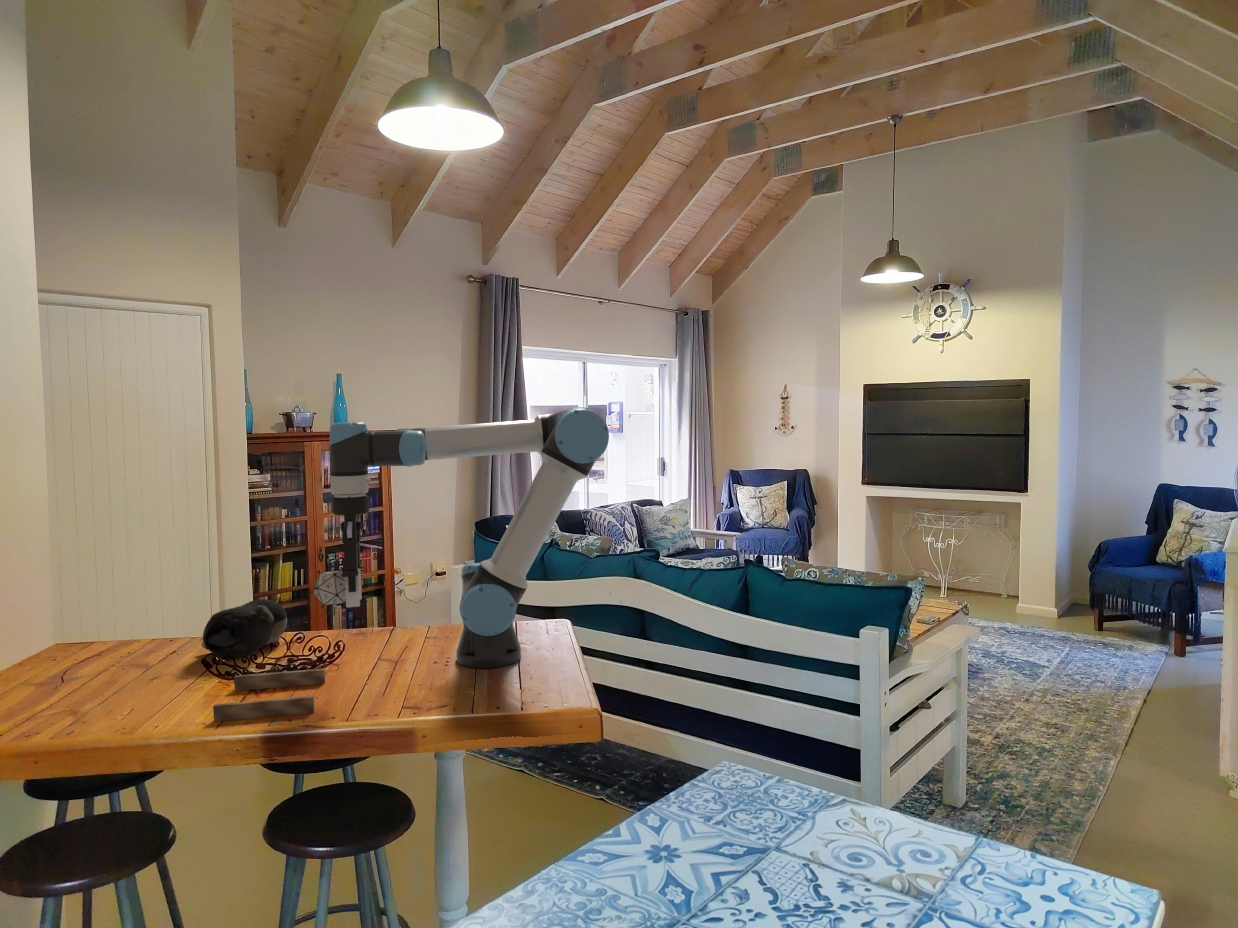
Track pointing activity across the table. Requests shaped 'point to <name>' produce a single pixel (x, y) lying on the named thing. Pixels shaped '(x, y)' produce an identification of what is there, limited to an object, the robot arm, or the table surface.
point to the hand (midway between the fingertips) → (354, 602)
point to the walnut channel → (274, 705)
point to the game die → (330, 588)
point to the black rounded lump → (244, 628)
